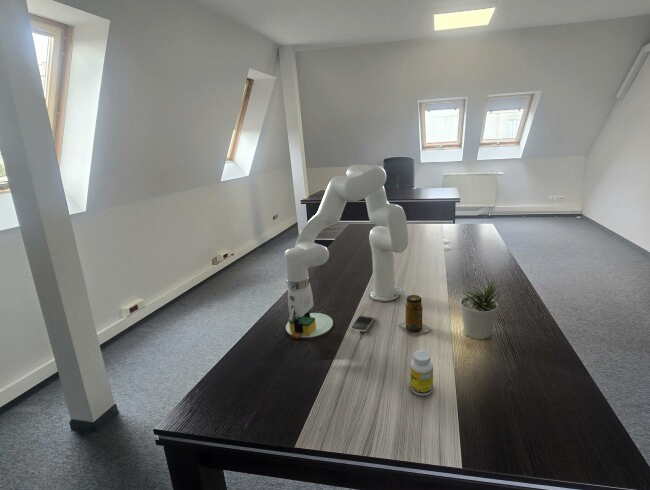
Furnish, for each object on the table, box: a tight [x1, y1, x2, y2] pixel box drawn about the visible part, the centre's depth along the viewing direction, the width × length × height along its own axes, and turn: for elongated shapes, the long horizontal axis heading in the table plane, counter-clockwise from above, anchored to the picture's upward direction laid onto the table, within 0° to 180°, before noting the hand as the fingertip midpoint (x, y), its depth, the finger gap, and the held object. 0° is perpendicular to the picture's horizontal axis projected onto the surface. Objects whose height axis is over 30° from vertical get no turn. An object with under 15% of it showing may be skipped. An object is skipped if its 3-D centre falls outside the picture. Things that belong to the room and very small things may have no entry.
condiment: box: [400, 294, 431, 337], centre depth 131 cm, size 7×8×12 cm
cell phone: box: [350, 315, 375, 334], centre depth 136 cm, size 6×11×1 cm, turn 158°
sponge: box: [288, 316, 316, 336], centre depth 132 cm, size 8×5×4 cm, turn 67°
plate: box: [285, 312, 334, 338], centre depth 137 cm, size 18×18×1 cm
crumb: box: [290, 331, 302, 340], centre depth 129 cm, size 3×3×1 cm
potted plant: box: [459, 281, 501, 340], centre depth 124 cm, size 13×14×20 cm
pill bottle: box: [409, 349, 434, 396], centre depth 100 cm, size 6×6×11 cm
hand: (303, 327), depth 133 cm, fingers closed on sponge, 5 cm apart
